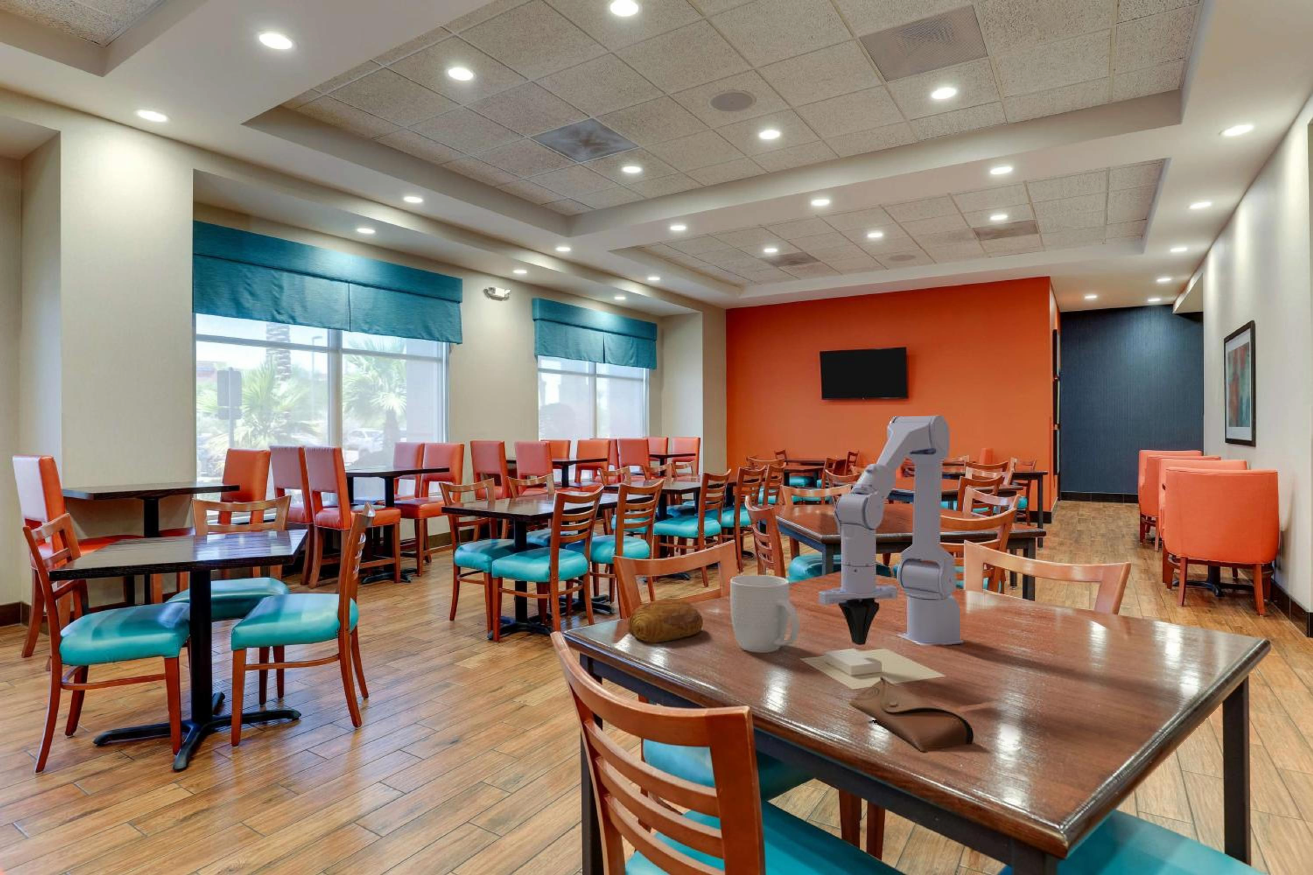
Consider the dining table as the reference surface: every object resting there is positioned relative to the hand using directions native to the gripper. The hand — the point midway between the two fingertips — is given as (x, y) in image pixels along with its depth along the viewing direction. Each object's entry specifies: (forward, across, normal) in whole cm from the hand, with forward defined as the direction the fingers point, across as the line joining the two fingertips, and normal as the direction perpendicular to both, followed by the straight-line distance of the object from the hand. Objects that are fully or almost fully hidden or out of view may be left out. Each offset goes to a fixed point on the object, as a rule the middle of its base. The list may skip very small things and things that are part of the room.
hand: (858, 643), depth 122 cm
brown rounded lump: (+5, +24, -33) cm, 41 cm away
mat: (+5, -2, +1) cm, 5 cm away
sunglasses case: (+5, +8, +21) cm, 23 cm away
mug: (+5, +10, -15) cm, 19 cm away
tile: (+3, -2, 0) cm, 3 cm away
